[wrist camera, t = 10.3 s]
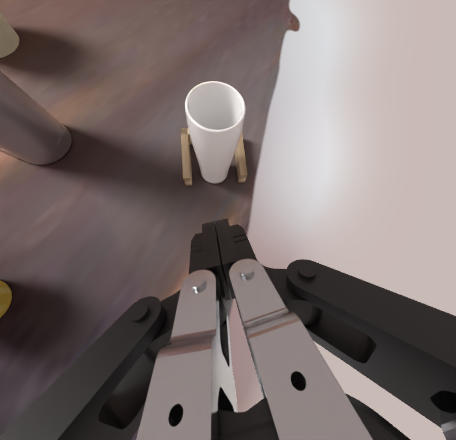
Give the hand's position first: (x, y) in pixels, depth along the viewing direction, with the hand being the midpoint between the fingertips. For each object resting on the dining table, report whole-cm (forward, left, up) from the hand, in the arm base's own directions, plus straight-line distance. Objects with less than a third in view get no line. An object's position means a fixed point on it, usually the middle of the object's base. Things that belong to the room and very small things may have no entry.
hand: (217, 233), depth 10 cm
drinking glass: (+1, +15, -20) cm, 25 cm away
